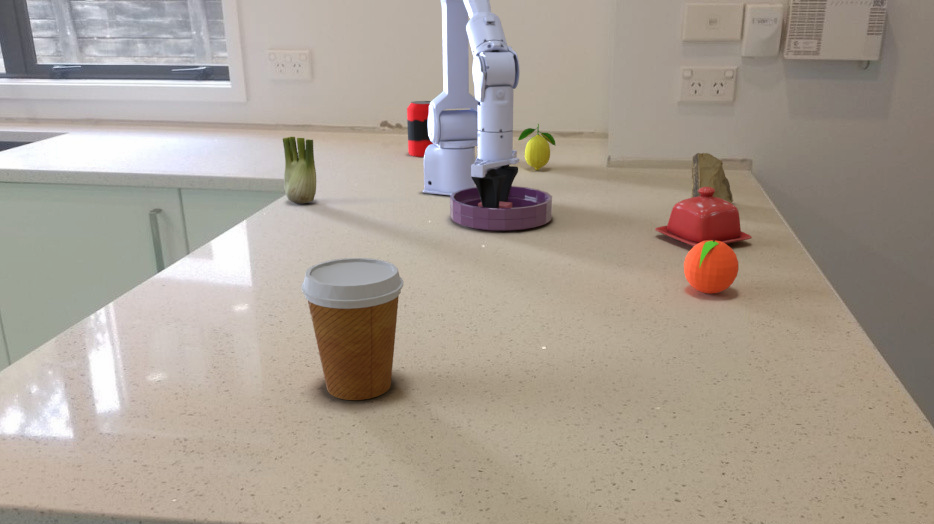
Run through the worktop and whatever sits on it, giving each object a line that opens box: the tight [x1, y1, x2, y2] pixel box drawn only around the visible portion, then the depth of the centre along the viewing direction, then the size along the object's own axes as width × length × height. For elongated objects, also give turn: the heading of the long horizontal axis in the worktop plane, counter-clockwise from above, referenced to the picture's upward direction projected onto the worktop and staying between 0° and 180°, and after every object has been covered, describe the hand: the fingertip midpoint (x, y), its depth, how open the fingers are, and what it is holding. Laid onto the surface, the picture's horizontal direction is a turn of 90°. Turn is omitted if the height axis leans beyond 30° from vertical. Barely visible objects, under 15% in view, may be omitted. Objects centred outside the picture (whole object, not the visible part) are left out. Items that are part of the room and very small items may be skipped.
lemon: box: [517, 123, 556, 171], centre depth 181 cm, size 7×6×10 cm
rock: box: [690, 152, 734, 204], centre depth 152 cm, size 11×9×10 cm
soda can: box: [406, 100, 433, 158], centre depth 197 cm, size 8×8×12 cm
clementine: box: [683, 239, 740, 295], centre depth 108 cm, size 8×7×7 cm
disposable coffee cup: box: [300, 257, 404, 401], centre depth 81 cm, size 10×10×12 cm
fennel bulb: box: [282, 136, 317, 205], centre depth 151 cm, size 6×5×12 cm
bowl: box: [449, 185, 553, 232], centre depth 143 cm, size 17×17×4 cm
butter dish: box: [654, 187, 753, 248], centre depth 131 cm, size 12×12×8 cm
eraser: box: [478, 201, 512, 208], centre depth 141 cm, size 5×3×3 cm, turn 67°
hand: (494, 212), depth 141 cm, fingers closed on eraser, 3 cm apart
